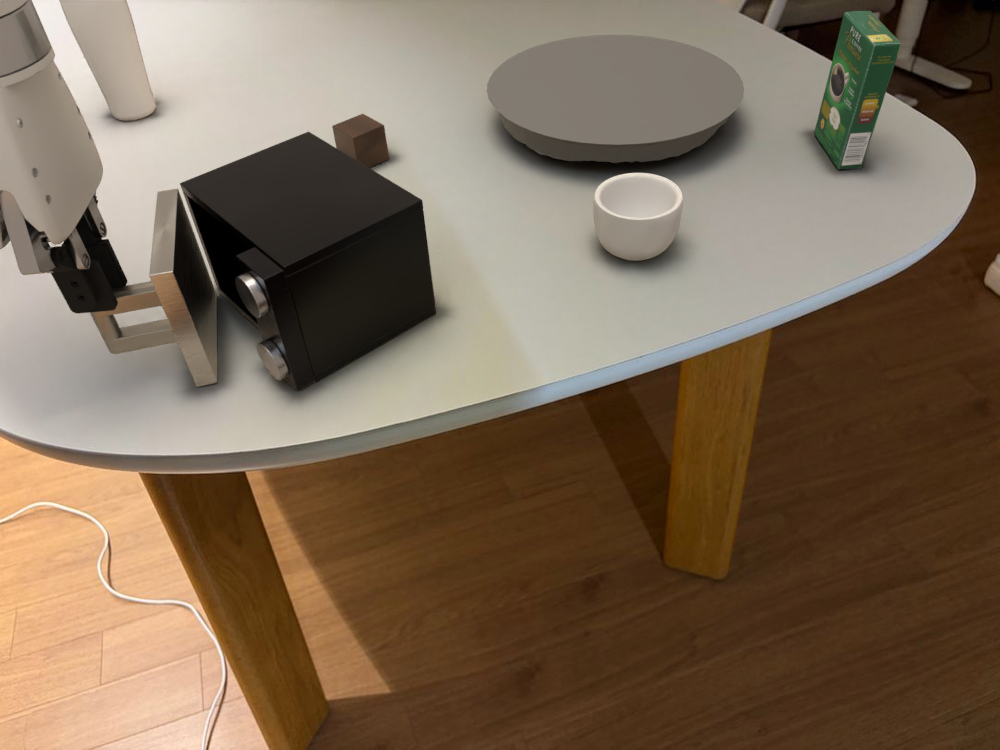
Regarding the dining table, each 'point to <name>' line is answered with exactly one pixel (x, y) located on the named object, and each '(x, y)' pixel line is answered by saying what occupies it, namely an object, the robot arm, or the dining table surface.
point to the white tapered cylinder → (112, 54)
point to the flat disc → (614, 97)
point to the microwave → (313, 254)
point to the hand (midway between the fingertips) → (100, 297)
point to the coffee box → (855, 88)
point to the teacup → (637, 214)
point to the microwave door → (170, 296)
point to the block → (362, 140)
